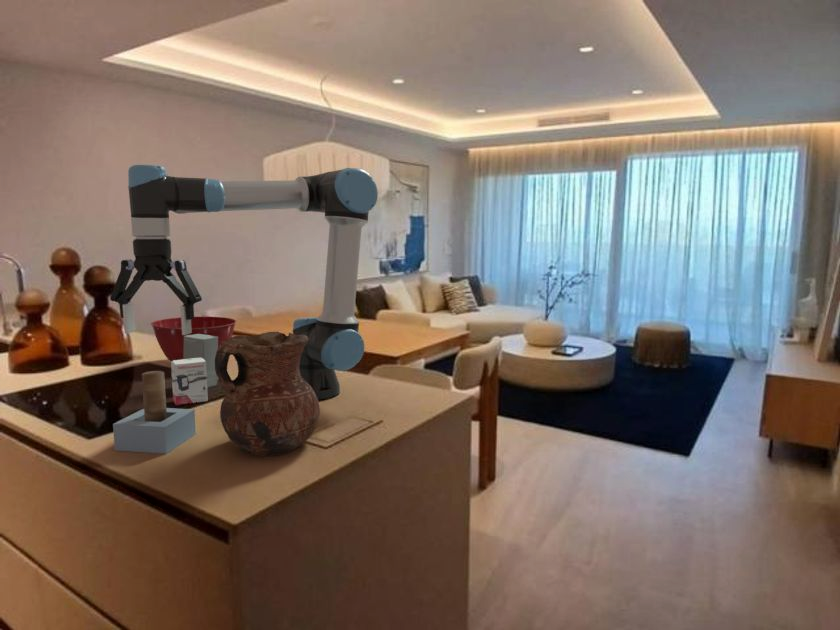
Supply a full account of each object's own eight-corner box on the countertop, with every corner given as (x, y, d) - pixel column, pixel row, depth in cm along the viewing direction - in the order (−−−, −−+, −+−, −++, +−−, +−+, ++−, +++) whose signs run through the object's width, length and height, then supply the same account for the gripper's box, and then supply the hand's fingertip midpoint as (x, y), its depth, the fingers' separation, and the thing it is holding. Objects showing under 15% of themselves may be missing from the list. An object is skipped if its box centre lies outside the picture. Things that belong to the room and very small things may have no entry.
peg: (172, 438, 126) (168, 371, 124) (160, 446, 122) (156, 376, 119) (154, 437, 127) (149, 370, 124) (141, 445, 122) (137, 375, 120)
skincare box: (182, 386, 168) (179, 336, 166) (199, 381, 175) (197, 332, 172) (203, 390, 165) (201, 338, 163) (220, 384, 172) (218, 334, 169)
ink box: (175, 405, 150) (173, 364, 148) (172, 401, 154) (170, 360, 152) (208, 401, 154) (206, 360, 153) (204, 396, 159) (202, 357, 157)
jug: (265, 423, 137) (262, 325, 134) (337, 435, 129) (336, 332, 126) (199, 455, 117) (193, 340, 113) (279, 472, 109) (276, 350, 105)
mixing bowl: (218, 351, 219) (217, 313, 217) (250, 364, 198) (249, 322, 196) (143, 361, 200) (140, 320, 198) (169, 377, 179) (167, 330, 177)
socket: (195, 433, 129) (194, 409, 128) (166, 453, 117) (164, 427, 117) (148, 431, 131) (147, 406, 130) (114, 450, 119) (112, 424, 118)
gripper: (214, 238, 122) (219, 331, 125) (110, 237, 125) (117, 328, 128) (197, 238, 115) (202, 337, 118) (86, 237, 117) (95, 334, 121)
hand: (158, 333), depth 123 cm, fingers open, 13 cm apart
